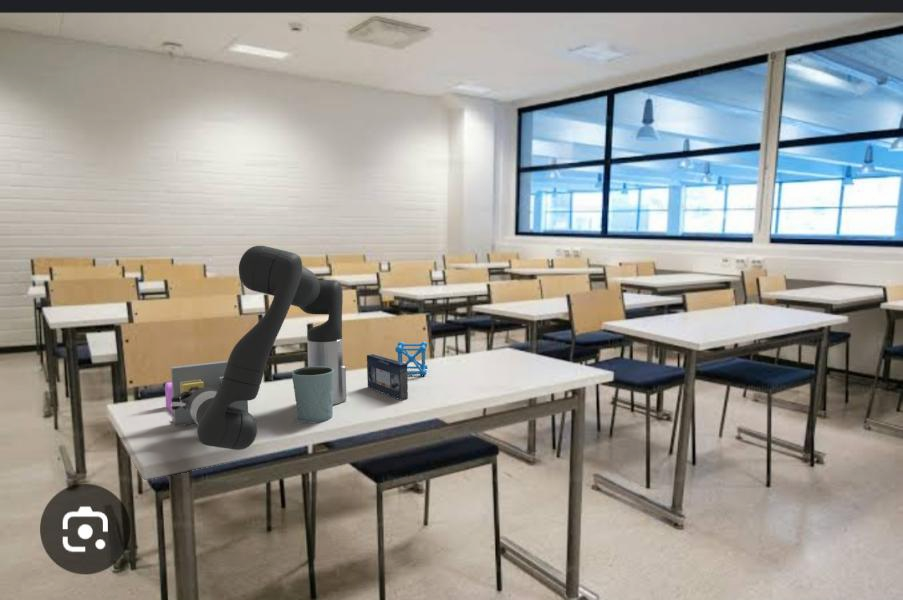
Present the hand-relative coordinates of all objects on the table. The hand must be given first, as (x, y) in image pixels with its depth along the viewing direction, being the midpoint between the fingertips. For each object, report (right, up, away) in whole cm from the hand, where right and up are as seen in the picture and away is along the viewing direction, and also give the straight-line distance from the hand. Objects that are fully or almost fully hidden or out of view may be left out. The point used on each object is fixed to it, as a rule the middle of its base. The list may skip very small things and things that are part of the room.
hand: (194, 391), depth 141 cm
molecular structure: (+48, -3, +55) cm, 73 cm away
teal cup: (+27, -8, +7) cm, 29 cm away
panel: (+1, -8, +8) cm, 11 cm away
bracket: (-9, -7, +14) cm, 18 cm away
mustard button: (-2, -2, +3) cm, 4 cm away
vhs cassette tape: (+43, -5, +31) cm, 53 cm away
